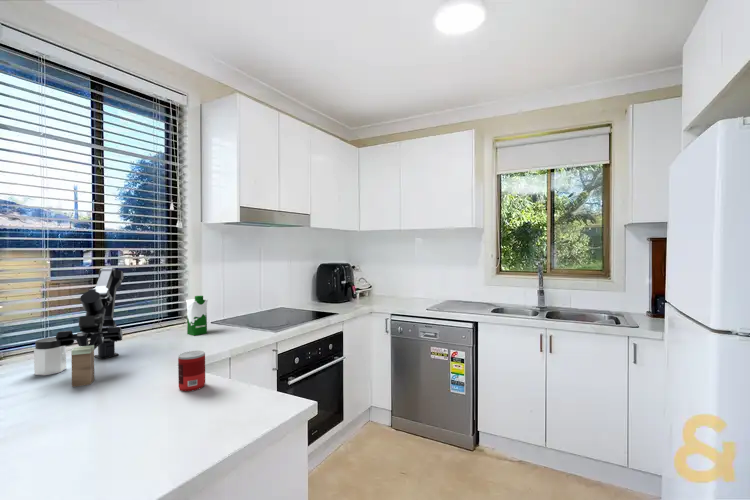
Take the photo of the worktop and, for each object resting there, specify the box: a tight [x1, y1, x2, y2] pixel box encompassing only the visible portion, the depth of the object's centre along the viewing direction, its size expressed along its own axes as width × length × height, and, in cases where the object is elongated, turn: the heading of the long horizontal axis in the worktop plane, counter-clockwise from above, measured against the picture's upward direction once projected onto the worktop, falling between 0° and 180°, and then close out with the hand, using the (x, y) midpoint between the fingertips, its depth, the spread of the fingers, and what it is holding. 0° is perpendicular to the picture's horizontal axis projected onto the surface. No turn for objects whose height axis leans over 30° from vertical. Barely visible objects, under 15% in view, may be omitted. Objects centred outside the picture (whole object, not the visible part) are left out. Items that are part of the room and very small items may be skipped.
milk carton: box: [185, 295, 209, 336], centre depth 196 cm, size 9×9×20 cm
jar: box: [33, 336, 67, 376], centre depth 137 cm, size 9×8×12 cm
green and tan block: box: [70, 345, 95, 388], centre depth 126 cm, size 5×5×12 cm
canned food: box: [177, 350, 206, 392], centre depth 122 cm, size 8×8×11 cm
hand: (86, 356), depth 129 cm, fingers closed
